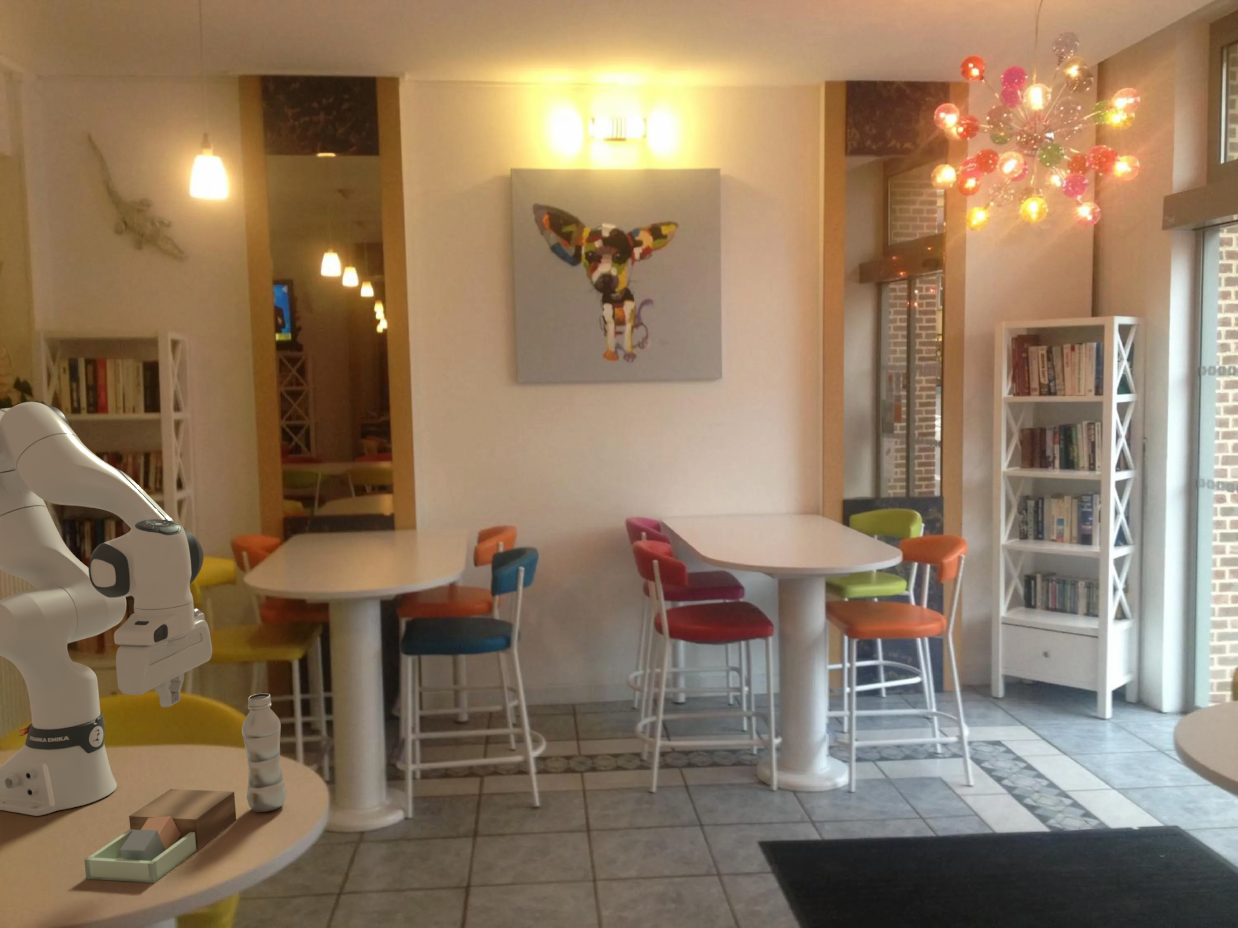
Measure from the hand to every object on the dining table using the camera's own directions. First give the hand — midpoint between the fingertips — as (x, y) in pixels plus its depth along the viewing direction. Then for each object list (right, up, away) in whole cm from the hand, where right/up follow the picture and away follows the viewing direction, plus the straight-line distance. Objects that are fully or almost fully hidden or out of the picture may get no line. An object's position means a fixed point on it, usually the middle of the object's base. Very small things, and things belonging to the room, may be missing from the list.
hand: (170, 704), depth 173 cm
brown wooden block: (+1, -22, +4) cm, 22 cm away
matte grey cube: (0, -19, -7) cm, 21 cm away
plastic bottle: (+12, -21, +12) cm, 27 cm away
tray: (-1, -23, -7) cm, 24 cm away
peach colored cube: (0, -21, -7) cm, 22 cm away
